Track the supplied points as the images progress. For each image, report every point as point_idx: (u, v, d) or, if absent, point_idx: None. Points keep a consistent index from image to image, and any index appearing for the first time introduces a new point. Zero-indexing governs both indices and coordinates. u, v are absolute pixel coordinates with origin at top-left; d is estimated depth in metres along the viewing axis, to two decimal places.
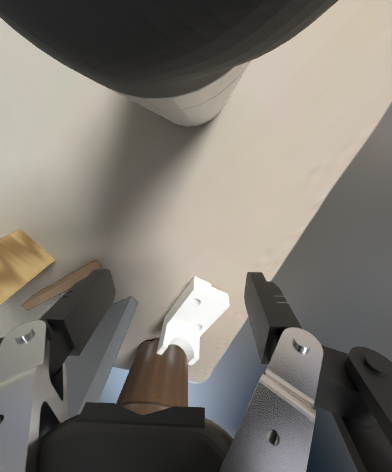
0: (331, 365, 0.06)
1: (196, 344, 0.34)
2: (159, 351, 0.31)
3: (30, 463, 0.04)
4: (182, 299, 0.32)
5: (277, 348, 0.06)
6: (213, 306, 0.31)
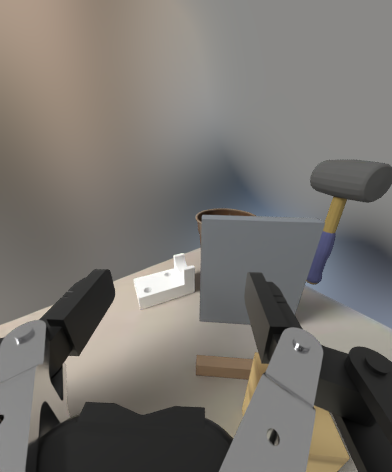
0: (331, 365, 0.06)
1: (174, 264, 0.47)
2: (191, 267, 0.41)
3: (30, 463, 0.04)
4: (158, 296, 0.40)
5: (277, 348, 0.06)
6: (142, 282, 0.43)
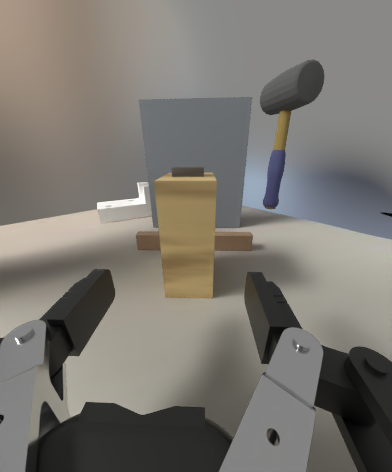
0: (331, 365, 0.06)
1: (139, 192, 0.48)
2: None
3: (30, 463, 0.04)
4: (119, 211, 0.41)
5: (277, 348, 0.06)
6: (104, 203, 0.44)
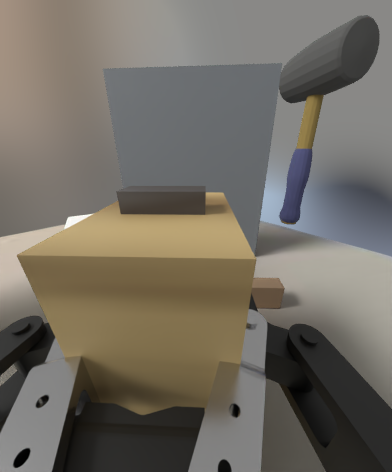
0: (275, 340, 0.07)
1: None
2: None
3: (59, 458, 0.04)
4: None
5: None
6: (77, 219, 0.34)
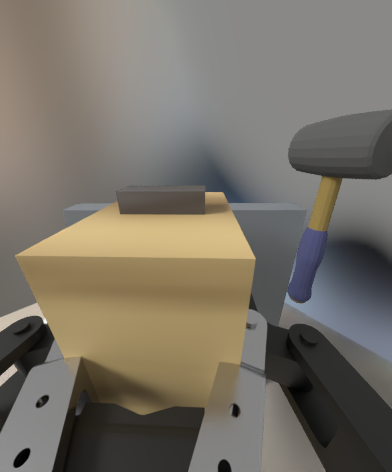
0: (275, 340, 0.07)
1: None
2: None
3: (59, 458, 0.04)
4: None
5: None
6: None
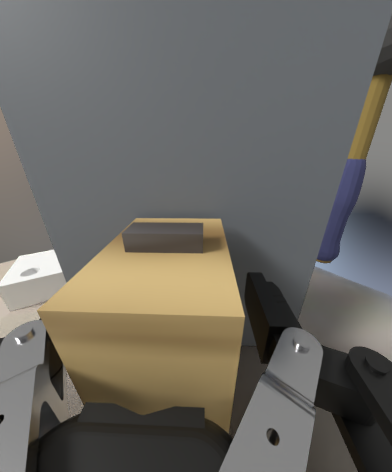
0: (331, 365, 0.06)
1: None
2: None
3: (30, 463, 0.04)
4: (50, 283, 0.21)
5: (277, 348, 0.06)
6: (30, 260, 0.23)
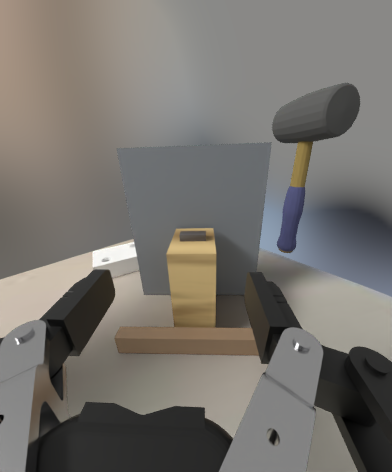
0: (331, 365, 0.06)
1: None
2: None
3: (30, 463, 0.04)
4: (118, 266, 0.35)
5: (277, 348, 0.06)
6: (101, 253, 0.37)
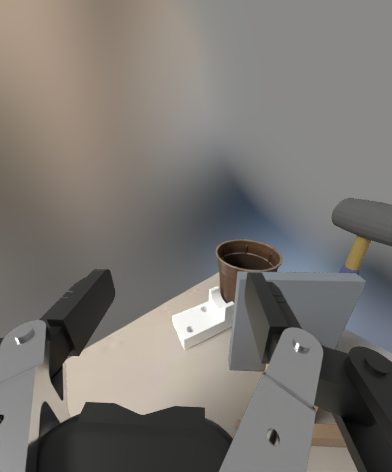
0: (331, 365, 0.06)
1: (210, 297, 0.47)
2: (231, 304, 0.42)
3: (30, 463, 0.04)
4: (201, 335, 0.40)
5: (277, 348, 0.06)
6: (182, 320, 0.43)
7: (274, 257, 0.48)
